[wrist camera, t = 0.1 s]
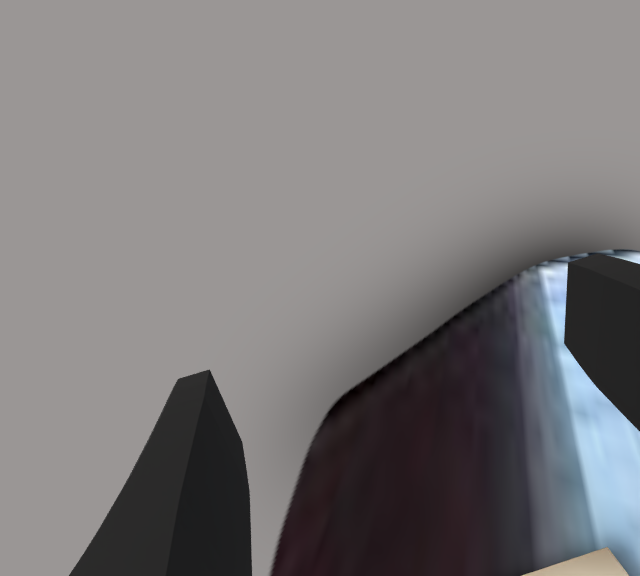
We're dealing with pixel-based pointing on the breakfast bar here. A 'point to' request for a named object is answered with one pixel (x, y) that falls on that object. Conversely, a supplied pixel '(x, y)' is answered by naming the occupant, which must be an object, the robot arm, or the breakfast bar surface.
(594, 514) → the breakfast bar surface
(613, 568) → the birch box
